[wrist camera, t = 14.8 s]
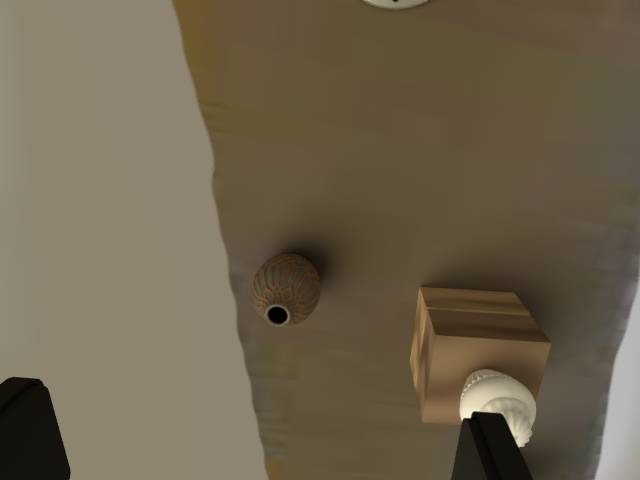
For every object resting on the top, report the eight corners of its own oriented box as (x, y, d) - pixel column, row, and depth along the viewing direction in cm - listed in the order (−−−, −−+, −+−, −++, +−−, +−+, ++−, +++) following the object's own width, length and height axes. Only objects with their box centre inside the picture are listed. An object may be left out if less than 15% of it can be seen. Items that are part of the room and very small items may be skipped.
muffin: (459, 349, 36) (486, 402, 30) (526, 360, 36) (568, 415, 30) (441, 405, 38) (464, 467, 31) (505, 416, 38) (541, 480, 32)
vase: (333, 260, 44) (328, 300, 36) (307, 310, 46) (297, 358, 38) (274, 234, 43) (255, 269, 35) (252, 286, 46) (229, 330, 38)
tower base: (419, 285, 44) (426, 306, 40) (513, 291, 44) (530, 313, 39) (409, 361, 48) (415, 387, 44) (496, 367, 47) (510, 394, 43)
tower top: (427, 309, 40) (435, 335, 36) (530, 315, 40) (551, 342, 35) (415, 389, 44) (422, 421, 40) (510, 397, 43) (527, 430, 39)
